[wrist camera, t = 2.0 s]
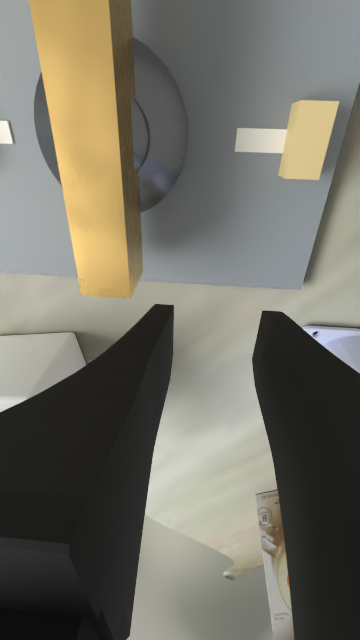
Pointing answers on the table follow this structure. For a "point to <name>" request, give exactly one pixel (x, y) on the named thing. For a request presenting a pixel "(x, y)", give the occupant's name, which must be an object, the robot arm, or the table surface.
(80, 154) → the long golden bar
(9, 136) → the base
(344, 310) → the table surface
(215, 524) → the table surface
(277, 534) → the coffee box
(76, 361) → the medicine bottle
